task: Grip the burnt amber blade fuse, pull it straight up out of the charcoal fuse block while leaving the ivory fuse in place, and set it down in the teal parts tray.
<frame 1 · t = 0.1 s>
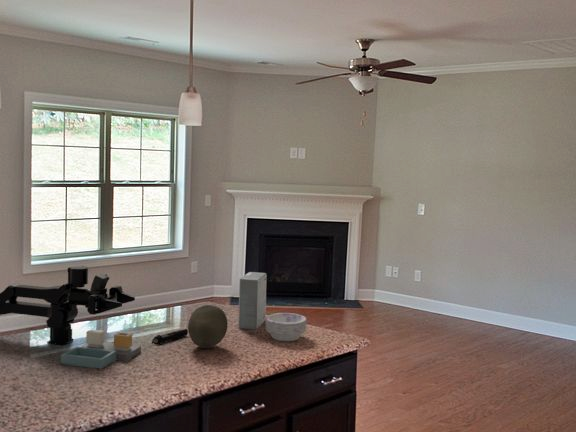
hand: (128, 301, 210), 17 cm above the worktop, tool horizontal, fingers open, 9 cm apart
cantaloupe: (207, 348, 217), on the worktop
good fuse: (95, 351, 208), resting in fuse block
hard drive box: (252, 324, 251), on the worktop
electric trimmer: (169, 341, 226), on the worktop
blown fuse: (122, 355, 206), resting in fuse block
parts tray: (89, 362, 198), on the worktop
fuse block: (109, 353, 207), on the worktop
paper bowls: (285, 338, 234), on the worktop
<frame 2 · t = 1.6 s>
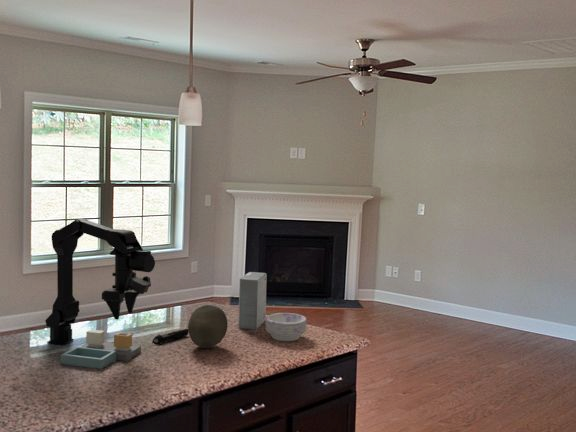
hand: (123, 316, 205), 13 cm above the worktop, tool pointing down, fingers open, 9 cm apart
nothing on the worktop moved.
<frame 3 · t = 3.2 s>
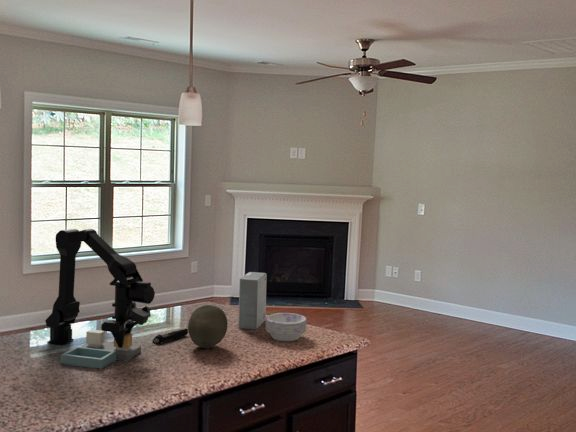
hand: (122, 346, 206), 3 cm above the worktop, tool pointing down, fingers closed on blown fuse, 3 cm apart
blown fuse: (122, 355, 206), resting in fuse block, touching gripper
everything else where it was.
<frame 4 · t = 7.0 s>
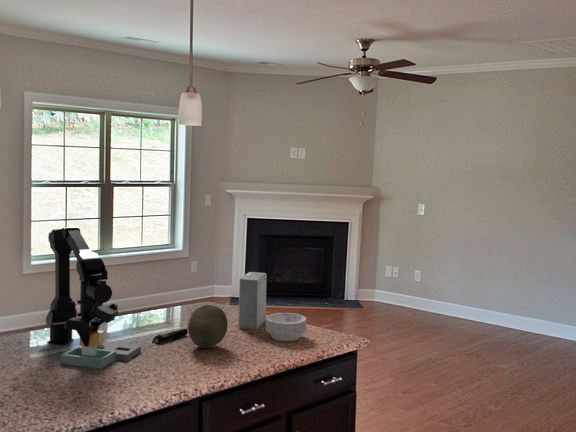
hand: (89, 344, 197), 6 cm above the worktop, tool pointing down, fingers closed on blown fuse, 3 cm apart
blown fuse: (89, 354, 198), point 3 cm above the worktop, touching gripper
everything else where it was.
when the fingers open (5 cm above the worktop, at t = 7.7 s): blown fuse drops 1 cm, resting on parts tray.
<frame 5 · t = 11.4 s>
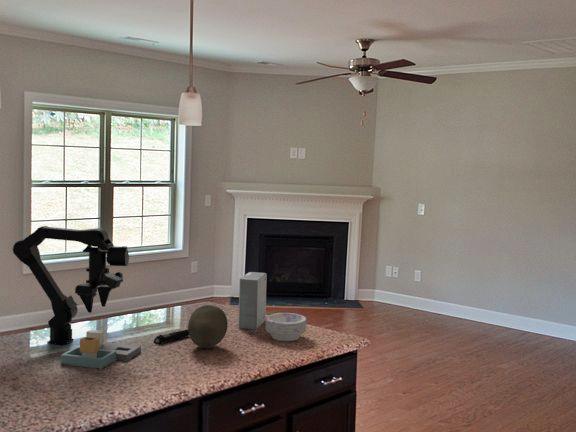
hand: (96, 309, 216), 12 cm above the worktop, tool pointing down, fingers open, 9 cm apart
electric trimmer: (172, 341, 225), on the worktop
blown fuse: (89, 360, 198), resting on parts tray
everything else where it was.
at the end: blown fuse inside the target area on the parts tray (0.1 cm from its centre), point 0.5 cm above the parts tray's base; the gripper is holding nothing; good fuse moved 0.0 cm from its start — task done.
